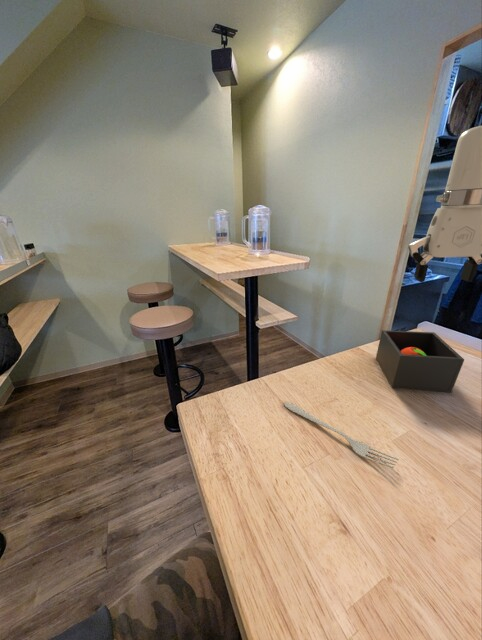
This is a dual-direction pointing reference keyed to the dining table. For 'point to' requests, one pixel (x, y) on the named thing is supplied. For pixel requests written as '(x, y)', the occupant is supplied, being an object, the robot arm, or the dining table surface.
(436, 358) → the bin
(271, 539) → the dining table surface
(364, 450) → the fork
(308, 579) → the dining table surface
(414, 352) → the clementine
